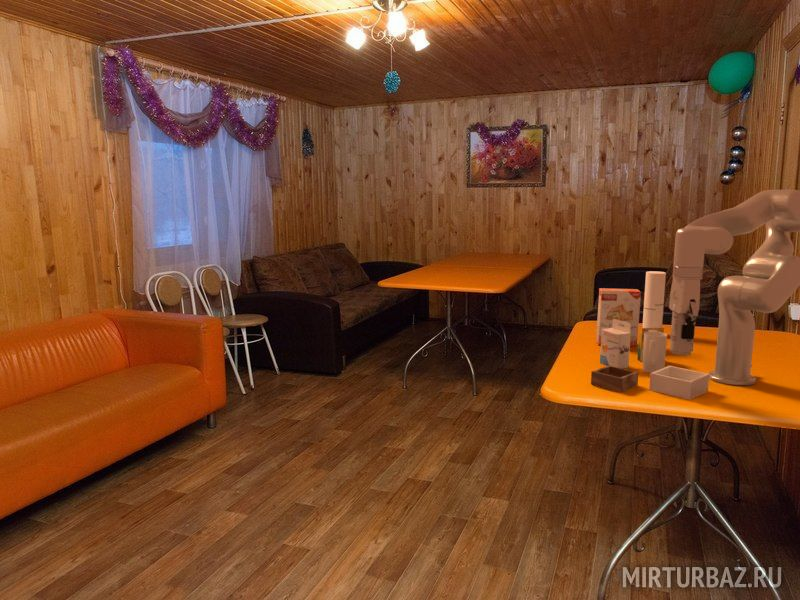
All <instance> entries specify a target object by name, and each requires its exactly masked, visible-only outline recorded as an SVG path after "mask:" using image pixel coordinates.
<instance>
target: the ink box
mask: <svg viewBox="0 0 800 600" xmlns="http://www.w3.org/2000/svg"><path fill="white" fill-rule="evenodd" d="M618 324H622V325H624V326H625V327H622V326H619V325H618ZM630 331H631V324H630V323H627V322H624V321H620V320H616V319H613V320H612V328H607V329H602V334H601V345H600V351H599V353H600V354H599V355H600V356H599V363H600V364H602V363H603V365H605V366H608V365H609V366H614V367H618V368H622V369H626V368H629V367H630V366H629V365H630V364H629V363H630V349H631V346H630V336H631V333H630Z"/></svg>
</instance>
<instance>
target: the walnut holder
mask: <svg viewBox="0 0 800 600" xmlns="http://www.w3.org/2000/svg"><path fill="white" fill-rule="evenodd" d="M591 384H593V385H592V386H595V385H597V386H596V387H599V386H600V387H599V388H603V387H604V388H603V389H606V388H607V390H611V391H615V392H617V393H618V392H619V393H623V392H624V391H628V390H630V389H632V388H634V387H637V386H638V384H639V371H634V370H630V369H626V368H618V367H614V366H609V365H605V366H603V367H600V368H598V369H595V370H594V369H593V370H592V371H591V375H590V385H591Z"/></svg>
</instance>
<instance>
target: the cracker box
mask: <svg viewBox="0 0 800 600" xmlns="http://www.w3.org/2000/svg"><path fill="white" fill-rule="evenodd" d="M598 291H599V292H598V309H597V320H596V334H595V335H596V338H595V342H596V344H597V346H601V334H602V329H607V328H612V320H613V319H616V320H620V321H624V322H627V323H630V324H631V331H630V333H631V336H630V347H637V348H638V340H639V324H640V312H641V299H642V298H641V295H642V292H641V291H640V290H639V289H637V288H635V289H634V288H605V287H603V288H602V287H601V288H598ZM618 325H619V326H622V327H625V326H624V325H622V324H618Z"/></svg>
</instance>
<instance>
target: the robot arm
mask: <svg viewBox="0 0 800 600" xmlns="http://www.w3.org/2000/svg"><path fill="white" fill-rule="evenodd" d="M763 225H765V239H764V241H763V243H762V244H761V246H759V248H757V250H755V252H754V253H753V254H752V255H751V256H750V257H749V259H748V260H747V261H746V262H745V264H744V265H743V267H742V275H730V276H726V277H724V278H723V279H722V280H721V281H720V283H718V284H719V285H718V287H717V301H718V307H719V309H718V312H719V315H718V316H719V317H718V318H719V319H718V330H717V341H716V349H715V350H716V353H715V361H714V363H715V364H714V370H710V371H709V372H708V374H709V380H712V381H714V382H718V383H722V384H725V385H731V386H750V385H754V384H755V383H756V381H757V378H756V377H755V376H754V375H752V374H751V370H752V367H753V364H752V361H753V360H752V359H753V351H754V350H753V349H754V340H755V332H756V331H755V330H756V321H755V318H754V315H753V313H752V311H753V312H757V313H764V314H771V313H772V314H773V313H775V312H777V311H778V310H779V309H780V308H782V306H783V305H784V304H785V303H787V301H788V299H789V298H790V297H791V296H792V295H793V294H794V293H795V292H796V291H797V289H798V288H799V286H800V257H799V256H796V255H794V251H795V247H794V244H793V241H792V239H791V237H790V234H789V233H800V190H797V189H766V190H761V191H760V192H758V193H756V194H755V195H753V196H751V197H749V198H748V199H746V200H744V201H742V202H741V203H739V204H738V205H736V206H734V207H731V208H728V209H727V208H726V209H723V210H720V211H717V212H714V213H710V214H707V215H704V216H702V217H698V219H695V220H694V221H692V222H690V223H689V224H687V225H685V226H684V227H681V228H679V229H677V230H676V232H675V238H674V239H675V240H674V241H675V242H674V250H673V251H674V253H673V263H672V264H673V267H672V283H671V287H670V292H669V293H670V294H669V301H668V309H670V311H672V312H673V306H674V305H675V307H676V313H678V314H680V315H682V314H683V323H684V325H682V331H681V338H682V339H693V338H694V339H695V332H694V327H695V328H696V321H697V318H698V317H699V311H700V303H701V302H700V301H701V299H700V298H701V280H702V279H703V275H704V274H703V272H704V260H705V254H708V255H723V254H724V253H727V252H728V251H729V250H730V249H731V248H732V246H733V244H734V236H740V235H745V234H750V233H752V232H754V231H755V230H757V229H758V228H760V227H762V226H763ZM687 311H690V312H691V314H686V312H687ZM687 316H690V317H688V319H687Z"/></svg>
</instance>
